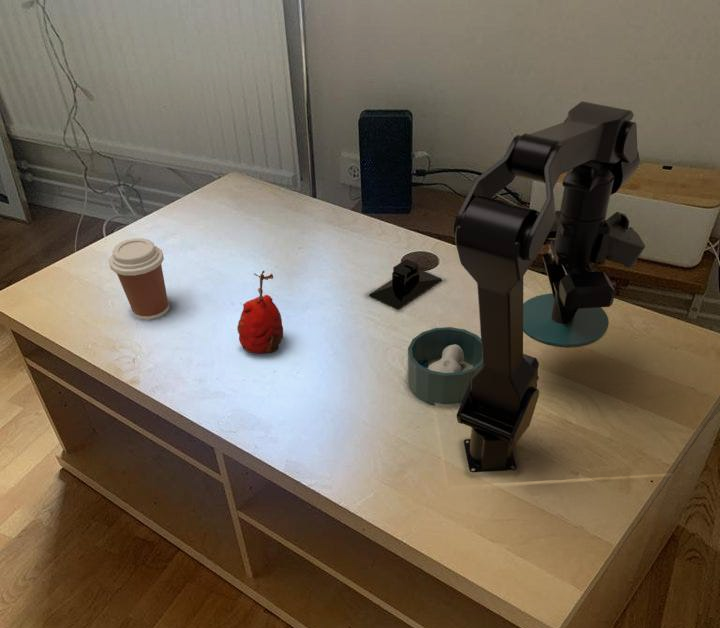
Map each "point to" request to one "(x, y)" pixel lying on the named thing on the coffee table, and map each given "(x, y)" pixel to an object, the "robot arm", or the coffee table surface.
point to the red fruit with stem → (260, 323)
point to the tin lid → (548, 326)
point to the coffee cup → (141, 276)
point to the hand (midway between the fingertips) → (563, 315)
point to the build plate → (405, 285)
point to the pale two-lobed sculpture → (449, 360)
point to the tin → (439, 384)
